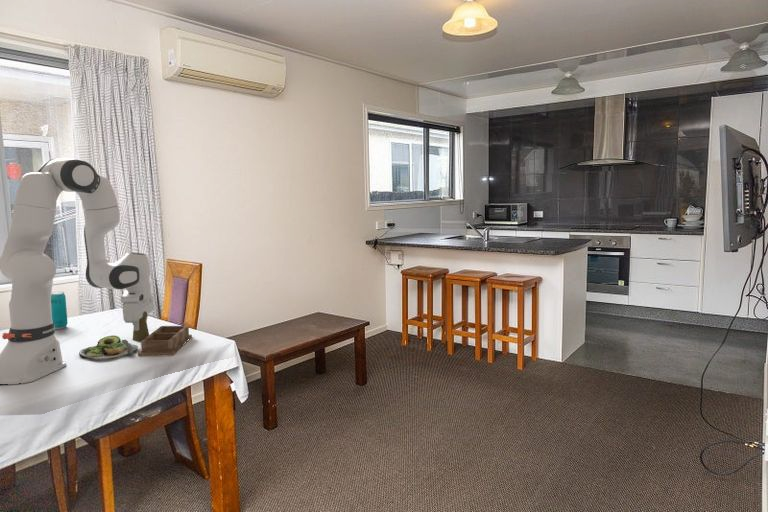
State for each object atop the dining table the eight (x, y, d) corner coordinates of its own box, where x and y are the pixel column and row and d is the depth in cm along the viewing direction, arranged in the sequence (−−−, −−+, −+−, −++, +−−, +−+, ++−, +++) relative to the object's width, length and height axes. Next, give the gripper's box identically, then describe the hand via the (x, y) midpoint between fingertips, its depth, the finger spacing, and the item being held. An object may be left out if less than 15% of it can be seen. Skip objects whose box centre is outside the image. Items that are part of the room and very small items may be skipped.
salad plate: (152, 351, 181) (152, 339, 180) (104, 366, 166) (103, 353, 165) (120, 342, 190) (119, 331, 190) (72, 356, 175) (71, 343, 174)
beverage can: (52, 326, 210) (50, 292, 208) (68, 325, 212) (66, 291, 210) (50, 330, 205) (47, 294, 203) (66, 328, 207) (63, 293, 205)
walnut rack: (173, 355, 176) (172, 341, 175) (138, 356, 175) (137, 342, 174) (192, 336, 197) (191, 324, 197) (160, 337, 196) (160, 325, 196)
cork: (142, 341, 191) (141, 313, 190) (129, 340, 192) (127, 312, 191) (153, 336, 197) (151, 309, 196) (139, 335, 198) (138, 308, 197)
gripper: (141, 288, 202) (142, 321, 204) (118, 299, 182) (120, 335, 184) (157, 288, 203) (158, 321, 205) (136, 299, 183) (138, 335, 184)
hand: (140, 328), depth 194 cm, fingers closed on cork, 5 cm apart
